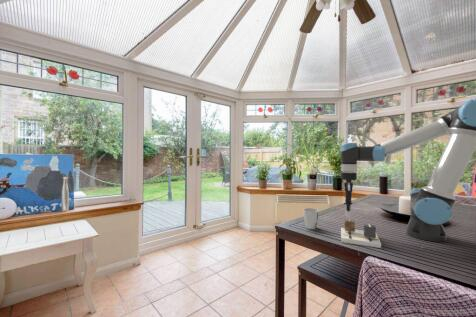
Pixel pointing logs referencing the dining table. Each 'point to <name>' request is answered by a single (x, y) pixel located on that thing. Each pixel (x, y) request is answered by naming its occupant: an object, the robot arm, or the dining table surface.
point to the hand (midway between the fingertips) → (348, 216)
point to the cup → (310, 217)
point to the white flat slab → (359, 238)
